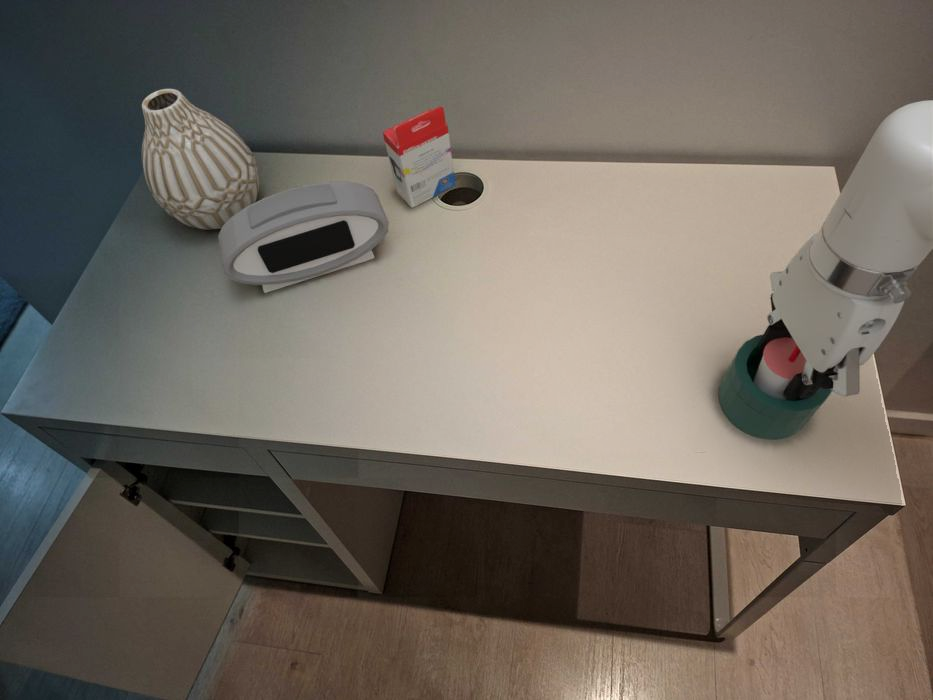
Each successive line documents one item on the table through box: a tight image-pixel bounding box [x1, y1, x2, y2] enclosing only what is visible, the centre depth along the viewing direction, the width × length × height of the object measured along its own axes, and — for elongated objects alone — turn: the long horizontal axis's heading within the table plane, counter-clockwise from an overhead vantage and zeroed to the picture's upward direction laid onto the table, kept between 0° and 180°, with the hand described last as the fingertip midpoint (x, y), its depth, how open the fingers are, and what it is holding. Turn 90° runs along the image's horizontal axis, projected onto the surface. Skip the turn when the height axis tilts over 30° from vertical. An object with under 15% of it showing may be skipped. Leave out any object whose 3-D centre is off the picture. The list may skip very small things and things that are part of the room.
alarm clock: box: [217, 181, 389, 294], centre depth 83 cm, size 23×6×13 cm, turn 110°
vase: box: [141, 88, 260, 231], centre depth 89 cm, size 16×16×20 cm
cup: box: [753, 337, 806, 400], centre depth 65 cm, size 5×5×12 cm
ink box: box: [382, 105, 456, 209], centre depth 89 cm, size 8×5×15 cm, turn 123°
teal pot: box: [718, 334, 833, 440], centre depth 67 cm, size 10×10×7 cm
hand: (784, 368), depth 64 cm, fingers closed on cup, 5 cm apart
